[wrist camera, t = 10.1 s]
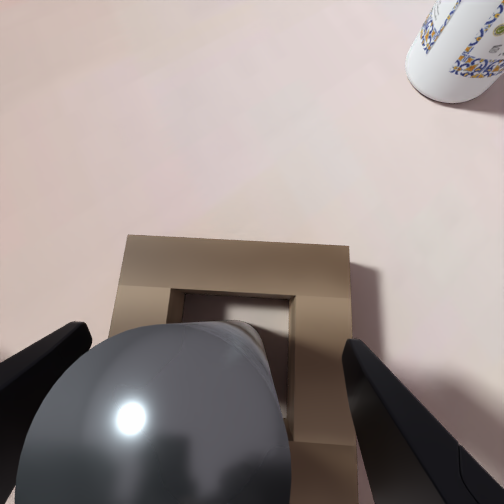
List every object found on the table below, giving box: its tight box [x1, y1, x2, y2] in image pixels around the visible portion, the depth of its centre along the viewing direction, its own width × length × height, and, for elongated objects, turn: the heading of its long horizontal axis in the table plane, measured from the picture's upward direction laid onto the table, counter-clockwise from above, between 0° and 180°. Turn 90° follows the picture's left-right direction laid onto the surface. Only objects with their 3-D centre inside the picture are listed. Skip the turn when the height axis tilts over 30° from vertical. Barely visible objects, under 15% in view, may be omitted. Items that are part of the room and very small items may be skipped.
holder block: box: [108, 235, 359, 504], centre depth 15 cm, size 13×13×3 cm
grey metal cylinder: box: [15, 320, 292, 504], centre depth 10 cm, size 4×4×13 cm
